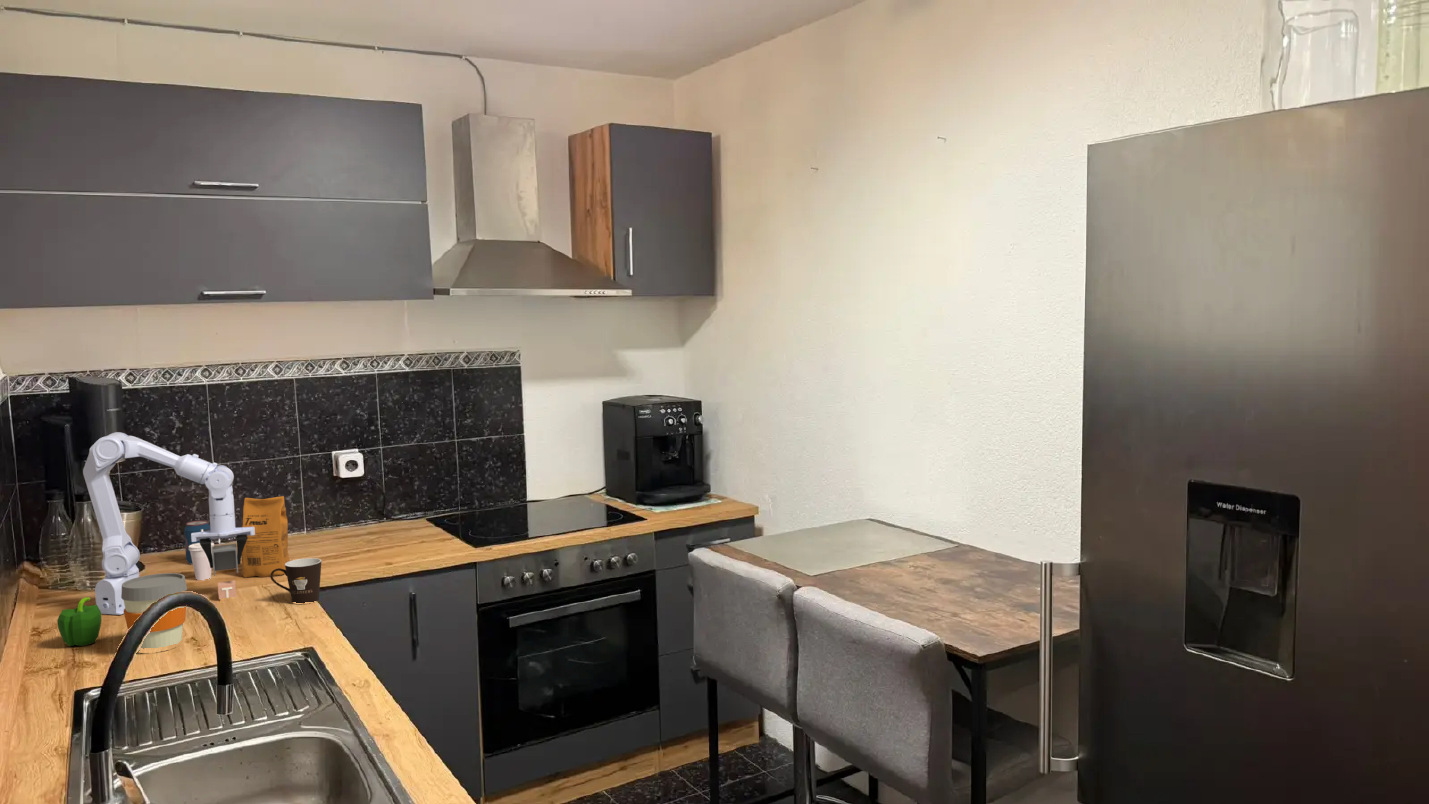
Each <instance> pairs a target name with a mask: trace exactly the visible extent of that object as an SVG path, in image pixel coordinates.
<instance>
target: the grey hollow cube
mask: <svg viewBox="0 0 1429 804" xmlns="http://www.w3.org/2000/svg"><path fill="white" fill-rule="evenodd" d="M212 558H213V568H212V570H213V577H214V576H216V571H219V572H220V571H225V570H236V573H237V574H239V565H238V562H237V543H231V544H222V545H214V546H212Z"/></svg>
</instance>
